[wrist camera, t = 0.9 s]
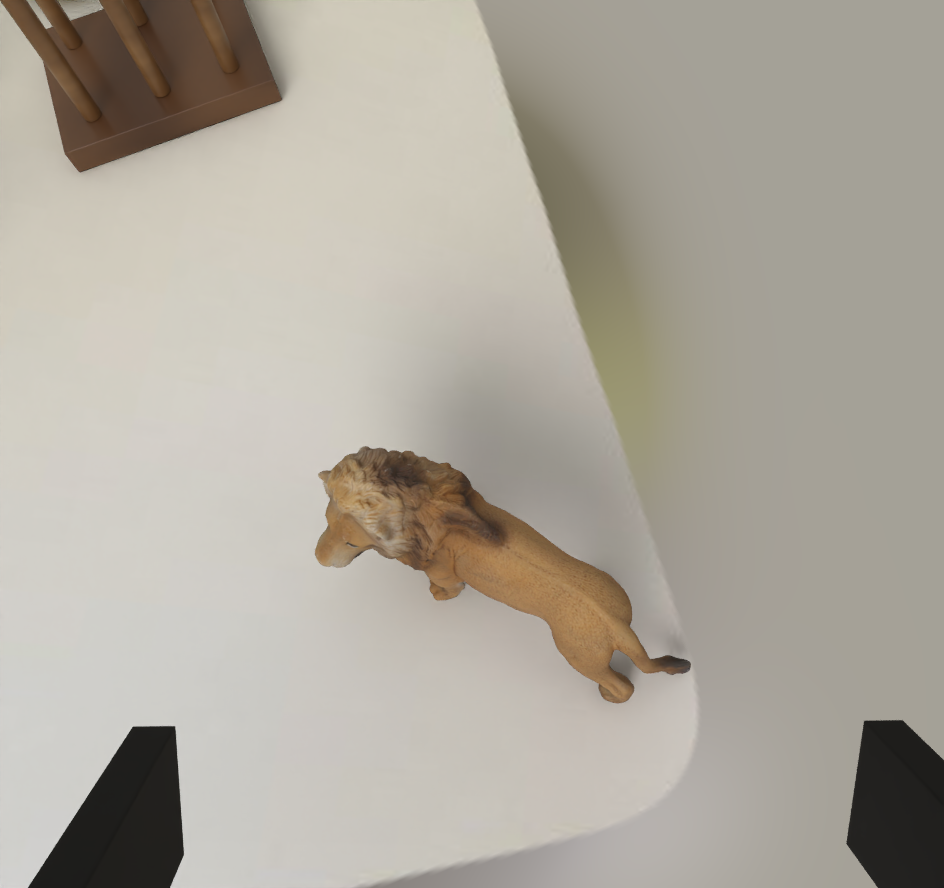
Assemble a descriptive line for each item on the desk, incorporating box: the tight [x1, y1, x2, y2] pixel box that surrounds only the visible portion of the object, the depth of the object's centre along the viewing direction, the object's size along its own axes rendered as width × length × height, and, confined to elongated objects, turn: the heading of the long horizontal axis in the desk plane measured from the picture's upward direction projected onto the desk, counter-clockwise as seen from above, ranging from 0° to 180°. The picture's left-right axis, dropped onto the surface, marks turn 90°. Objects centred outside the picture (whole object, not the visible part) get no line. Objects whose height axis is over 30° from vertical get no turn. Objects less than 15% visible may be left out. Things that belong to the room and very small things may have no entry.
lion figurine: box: [315, 446, 691, 703], centre depth 29 cm, size 15×5×9 cm, turn 67°
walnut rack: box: [0, 0, 282, 172], centre depth 42 cm, size 12×10×10 cm
